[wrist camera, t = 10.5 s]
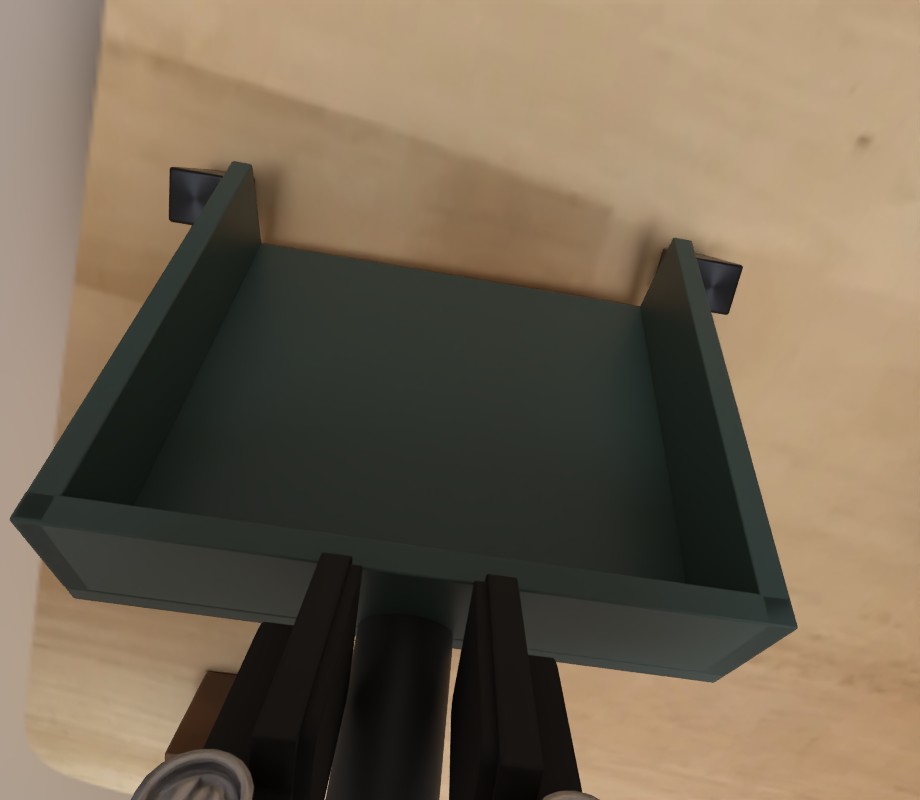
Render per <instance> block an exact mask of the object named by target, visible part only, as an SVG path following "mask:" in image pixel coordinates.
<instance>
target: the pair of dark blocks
mask: <svg viewBox="0 0 920 800" xmlns="http://www.w3.org/2000/svg"><path fill="white" fill-rule="evenodd" d="M225 173H226V172H222V171H216V170H209V169H196V168H182V167H171V168H170V187H169V220H170V221H171V222H176V223H182V224H188V225H193V224H194V223H195V221H196V219H197V218H198V216H199V214H200V213H201V211H202V210H203V208H204V206H205V205H206V203H207V202H208V200H209V198H210V197H211V195H212V194H213V192H214V190H215V189H216V187H217V186H218V184H219V182H220V181H221V179H222V178H223V176H224V174H225ZM254 182H255V180H254ZM667 250H668V249H664V250H663V253H662V256H661V260H660V264H659V267H660V265H661V262H662V260H663V258H664V256H665V254H666V252H667ZM695 255H696V259H697V263H698V266H699V270H700V274H701V277H702V281H703V284H704V288H705V292H706V295H707V299H708V303H709V306H710V310H711V312H712V313H718V314H724V315H727V314H728V313H729V311H730V308H731V304H732V301H733V298H734V295H735V291H736V288H737V285H738V281H739V278H740V275H741V272H742V268H743V266H741V265H739V264H735V263H731V262H728V261H724V260H720V259H717V258H713V257H709V256H706V255H701V254H695ZM658 269H659V268H658Z"/></svg>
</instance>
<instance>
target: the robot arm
mask: <svg viewBox="0 0 920 800" xmlns="http://www.w3.org/2000/svg"><path fill="white" fill-rule="evenodd" d="M361 578H362V566H361V565H353V564H352V556H347V555H340V554H332V553H324V552H323V553H322V554H321V556H320V558H319V561H318V563H317V566H316V568H315V571H314V574H313V576H312V579H311V582H310V584H309V587H308V589H307V592H306V595H305V597H304V600H303V602H302V605H301V608H300V610H299V613H298V615H297V618H296V621H295V623H294V625H287V624H279V623H271V622H263V623H262V624H261V625H260V627H259V629H258V630H257V633H256V635H255V637H254V639H253V641H252V643H251V646H250V648H249V650H248V652H247V654H246V656H245V659H244V661H243V663H242V665H241V667H240V669H239V672H238V674H237V676H236V678H235V680H234V682H233V685H232V687H231V689H230V691H229V693H228V696H227V698H226V700H225V702H224V704H223V706H222V709H221V711H220V713H219V715H218V717H217V719H216V722H215V724H214V726H213V728H212V730H211V732H210V735H209V737H208V739H207V741H206V743H205V745H204V748H203V749H196V750H192V751H189V752H185V753H181V754H178V755H176V756H174V757H172V758H171V759H169V760H167V761H165V762H163V763H161V764H160V765H159V766H158V767H156V768H155V769H154V770H153V771H152V772H151V773H149V774H148V775H147V776H146V777H145V779H144V780H143V781H142V783H141V784H140V786H139V787H138V788H137V790H136V791H135V793H134V795H133V797H132V798H131V800H324V799H325V794H326V790H327V785H328V781H329V776H330V772H331V767H332V763H333V759H334V754H335V750H336V745H337V741H338V736H339V732H340V727H341V723H342V719H343V714H344V710H345V705H346V700H347V695H348V689H349V682H350V673H351V665H352V656H353V647H354V639H355V630H356V621H357V613H358V604H359V595H360V587H361ZM449 800H599V799H597V798H596V797H594V796H592V795H589V794H586V793H582V788H581V783H580V778H579V773H578V768H577V763H576V758H575V753H574V748H573V743H572V738H571V733H570V728H569V723H568V718H567V712H566V707H565V702H564V697H563V692H562V687H561V682H560V677H559V672H558V667H557V664H556V661H555V659H554V658H550V657H542V656H534V655H528V650H527V643H526V636H525V629H524V622H523V615H522V607H521V600H520V593H519V586H518V580H517V578H515V577H507V576H500V575H492V574H487V575H486V578H485V582H483V581H475V582H474V585H473V590H472V596H471V601H470V607H469V612H468V617H467V623H466V628H465V634H464V639H463V645H462V650H461V655H460V661H459V666H458V672H457V677H456V683H455V688H454V693H453V700H452V709H451V740H450V786H449Z"/></svg>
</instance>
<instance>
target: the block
mask: <svg viewBox="0 0 920 800" xmlns="http://www.w3.org/2000/svg"><path fill="white" fill-rule="evenodd" d="M236 676H237V675H232V674H224V673H216V672H207V673H206V675H205V677H204V679H203V681H202V683H201V684H200V686H199V688H198V690H197V692H196V694H195V696H194V698H193V700H192V702H191V704H190V706H189V708H188V710H187V712H186V714H185V716H184V718H183V719H182V721H181V723H180V725H179V727H178V729H177V731H176V733H175V735H174V737H173V739H172V741H171V743H170V745H169V747H168V749H167V751H166V752H165V761H167V760H169V759H171V758H172V757H174V756H176V755H178V754H181V753H185V752H189V751H192V750H196V749H203V748H204V745H205V743H206V741H207V739H208V737H209V735H210V732H211V730H212V728H213V726H214V724H215V722H216V719H217V717H218V715H219V713H220V711H221V709H222V706H223V704H224V702H225V700H226V698H227V696H228V693H229V691H230V689H231V687H232V685H233V682H234V680H235V678H236Z"/></svg>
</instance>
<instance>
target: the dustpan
mask: <svg viewBox="0 0 920 800" xmlns="http://www.w3.org/2000/svg"><path fill="white" fill-rule="evenodd" d="M10 521H11V522H12V523H13V525H14V526H15V527H16V528H17V530H18V531H19V532H20V533H21V534H22V536H23V537H24V538H25V539H26V540H27V542H28V543H29V544H30V545H31V547H32V548H33V549H34V550H35V551H36V553H37V554H38V555H39V556H40V558H41V559H42V560H43V561H44V563H45V564H46V565H47V566H48V567H49V569H50V570H51V571H52V572H53V574H54V575H55V576H56V577H57V578H58V580H59V581H60V582H61V583H62V585H63V586H65V587H66V589H67V590H68V591H69V593H70V594H71V595H72V596H73V597H74V598H76V599H84V600H91V601H99V602H106V603H114V604H122V605H129V606H137V607H144V608H152V609H160V610H167V611H175V612H182V613H190V614H197V615H205V616H213V617H220V618H228V619H235V620H243V621H250V622H258V623H263V622H271V623H279V624H287V625H294V623H295V621H296V618H297V615H298V613H299V610H300V608H301V605H302V602H303V600H304V597H305V595H306V592H307V589H308V587H309V584H310V582H311V579H312V576H313V574H314V571H315V568H316V566H317V563H318V561H319V558H320V556H321V554H322V553H323V552H324V553H332V554H340V555H347V556H352V564H353V565H361V566H362V578H361V587H360V595H359V604H358V613H357V621H356V630H355V635H356V640H355V645H354V651H353V656H352V665H351V673H350V682H349V689H348V695H347V700H346V705H345V710H344V714H343V719H342V723H341V727H340V732H339V736H338V741H337V745H336V750H335V754H334V759H333V763H332V768H331V774H330V779H329V785H328V790H327V795H326V800H439V797H440V785H441V773H442V762H443V750H444V739H445V727H446V715H447V704H448V692H449V680H450V669H451V657H452V648H455V649H462V645H463V639H464V634H465V628H466V623H467V617H468V612H469V607H470V601H471V596H472V590H473V585H474V582H475V581H483V582H485V578H486V575H487V574H492V575H500V576H507V577H515V578H517V580H518V586H519V593H520V600H521V607H522V615H523V622H524V629H525V636H526V643H527V650H528V655H534V656H542V657H550V658H554V659H555V661H556V662H561V663H569V664H576V665H584V666H592V667H599V668H607V669H614V670H622V671H629V672H637V673H645V674H652V675H660V676H667V677H675V678H682V679H690V680H698V681H705V682H716V681H717V680H719V679H720V678H722V677H723V676H725V675H726V674H728V673H730V672H732V671H733V670H735V669H736V668H738V667H739V666H741V665H742V664H744V663H745V662H747V661H748V660H750V659H752V658H753V657H755V656H756V655H758V654H759V653H761V652H762V651H764V650H765V649H767V648H768V647H770V646H772V645H773V644H775V643H776V642H778V641H779V640H781V639H782V638H784V637H785V636H787V635H788V634H790V633H792V632H793V631H795V630H796V629H797V623H796V620H795V616H794V612H793V609H792V605H791V601H790V598H789V594H788V591H787V587H786V583H785V580H784V576H783V572H782V569H781V565H780V561H779V558H778V554H777V550H776V547H775V543H774V540H773V536H772V532H771V529H770V525H769V521H768V518H767V514H766V510H765V507H764V503H763V499H762V496H761V492H760V488H759V485H758V481H757V478H756V474H755V470H754V467H753V463H752V459H751V456H750V452H749V448H748V445H747V441H746V437H745V434H744V430H743V427H742V423H741V419H740V416H739V412H738V408H737V405H736V401H735V397H734V394H733V390H732V386H731V383H730V379H729V376H728V372H727V368H726V365H725V361H724V357H723V354H722V350H721V346H720V343H719V339H718V335H717V332H716V328H715V325H714V321H713V317H712V314H711V310H710V306H709V303H708V299H707V295H706V292H705V288H704V284H703V281H702V277H701V274H700V270H699V266H698V263H697V259H696V255H695V252H694V248H693V244H692V241H690V240H684V239H679V238H673V240H672V242H671V244H670V246H669V248H668V250H667V252H666V254H665V256H664V258H663V260H662V262H661V265H660V267H659V269H658V271H657V273H656V275H655V277H654V279H653V281H652V283H651V285H650V287H649V289H648V291H647V293H646V296H645V298H644V300H643V302H642V304H641V306H635V305H629V304H623V303H617V302H611V301H605V300H599V299H593V298H587V297H581V296H575V295H569V294H563V293H557V292H552V291H546V290H540V289H534V288H528V287H522V286H516V285H510V284H504V283H498V282H492V281H486V280H480V279H474V278H468V277H462V276H456V275H450V274H444V273H438V272H432V271H426V270H420V269H414V268H408V267H402V266H396V265H390V264H384V263H378V262H372V261H366V260H360V259H354V258H348V257H342V256H336V255H330V254H324V253H318V252H312V251H306V250H300V249H294V248H288V247H282V246H276V245H271V244H265V243H261V238H260V229H259V221H258V212H257V204H256V195H255V187H254V178H253V170H252V165H251V164H247V163H241V162H235V161H234V162H232V163H231V165H230V166H229V168H228V170H227V171H226V173H225V174H224V176H223V178H222V179H221V181H220V182H219V184H218V186H217V187H216V189H215V190H214V192H213V194H212V195H211V197H210V198H209V200H208V202H207V203H206V205H205V206H204V208H203V210H202V211H201V213H200V214H199V216H198V218H197V219H196V221H195V223H194V224H193V226H192V227H191V229H190V231H189V232H188V234H187V235H186V237H185V239H184V240H183V242H182V243H181V245H180V247H179V248H178V250H177V251H176V253H175V255H174V256H173V258H172V259H171V261H170V263H169V264H168V266H167V267H166V269H165V271H164V272H163V274H162V276H161V277H160V279H159V280H158V282H157V284H156V285H155V287H154V288H153V290H152V292H151V293H150V295H149V296H148V298H147V300H146V301H145V303H144V304H143V306H142V308H141V309H140V311H139V312H138V314H137V316H136V317H135V319H134V320H133V322H132V324H131V325H130V327H129V329H128V330H127V332H126V333H125V335H124V337H123V338H122V340H121V341H120V343H119V345H118V346H117V348H116V349H115V351H114V353H113V354H112V356H111V357H110V359H109V361H108V362H107V364H106V365H105V367H104V369H103V370H102V372H101V373H100V375H99V377H98V378H97V380H96V382H95V383H94V385H93V386H92V388H91V390H90V391H89V393H88V394H87V396H86V398H85V399H84V401H83V402H82V404H81V406H80V407H79V409H78V410H77V412H76V414H75V415H74V417H73V418H72V420H71V422H70V423H69V425H68V426H67V428H66V430H65V431H64V433H63V435H62V436H61V438H60V439H59V441H58V443H57V444H56V446H55V447H54V449H53V451H52V452H51V454H50V455H49V457H48V459H47V460H46V462H45V463H44V465H43V467H42V468H41V470H40V472H39V473H38V475H37V476H36V478H35V479H34V481H33V483H32V484H31V486H30V488H29V489H28V491H27V492H26V493H25V494H24V496H23V498H22V499H21V501H20V503H19V504H18V506H17V507H16V509H15V510H14V512H13V514H12V515H11V517H10Z"/></svg>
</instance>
